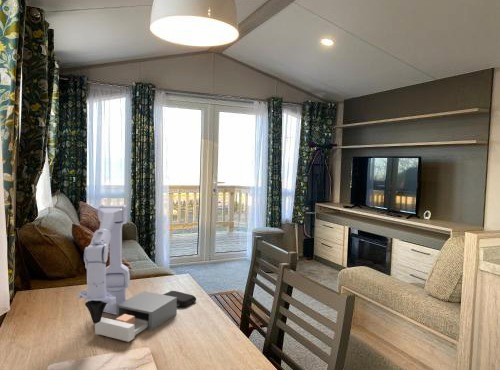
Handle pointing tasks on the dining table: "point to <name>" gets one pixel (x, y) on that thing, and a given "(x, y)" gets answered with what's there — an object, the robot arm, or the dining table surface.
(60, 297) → the dining table surface
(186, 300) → the carrying case or bag
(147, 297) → the housing
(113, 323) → the tray
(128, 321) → the block
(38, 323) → the dining table surface
